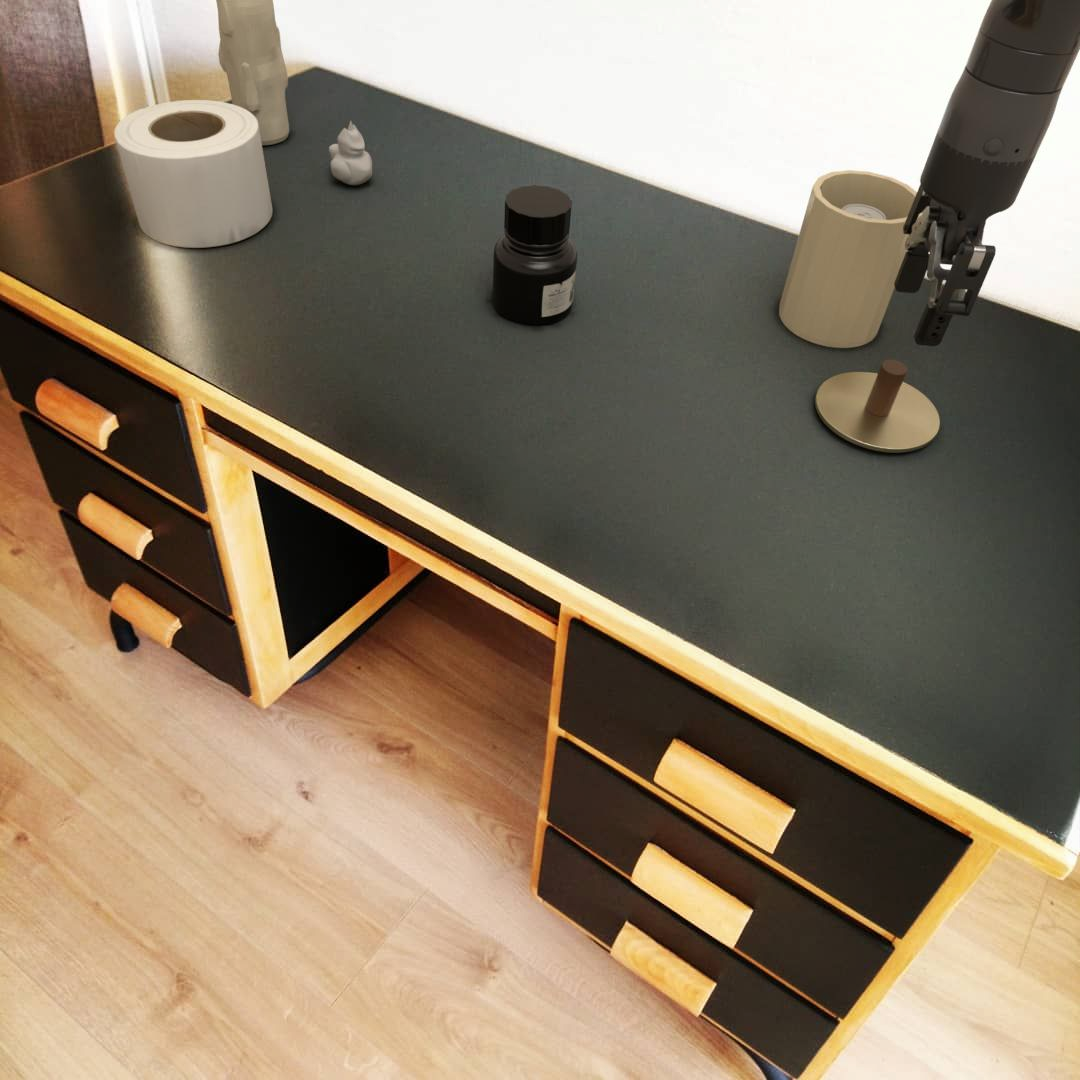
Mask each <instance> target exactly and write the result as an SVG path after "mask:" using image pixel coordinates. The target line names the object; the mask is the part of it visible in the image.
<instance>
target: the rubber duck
mask: <svg viewBox="0 0 1080 1080" xmlns="http://www.w3.org/2000/svg"><path fill="white" fill-rule="evenodd" d="M336 139H337V143H332V144H330V146H329V147H328V152H329V155H330V158H331V161H330V170H331V171H330V172H331V174H332V175H331V176H333V177H334V179H336V180H338V181H340V182H342V183H344V184H345V185H349V186H360V185H362V184H365V183H366V182H367V181H369V180H371V178H372V176H373V160H372V157H371V154H370V153H369V152H368V151H366V150H365V145H366V144H365V140H364V137H363V135H362V134H361V132H360V131H359V129H358V128H357V126H356V125H355V124H353V123H352V120H350V122H349V124H348V127H347V128H346V127H344V128H342V130H341V131H340V133H339V134H338V136H337V138H336Z"/></svg>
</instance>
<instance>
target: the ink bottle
mask: <svg viewBox="0 0 1080 1080" xmlns="http://www.w3.org/2000/svg"><path fill="white" fill-rule="evenodd" d="M572 207H573V200H572V199H571V198H570V196H569V194H568V193H565V192H564V191H562V190H561V189H558V188H555V187H551V186H548V185H538V184H533V185H532V184H531V185H522V186H520V187H516V188H513V189H511V191H509V192H508V193H507V194H506V195H505V199H504V216H503V217H504V218H503V222H504V223H503V229H504V234H503V235H502V236H500V237H499V239H498V241H497V242H496V243H495V245H494V248H493V256H492V257H493V260H492V261H493V262H492V303H493V306H494V308H495V310H496V311H497V312H498V313H499V314H500V315H501V316H503V317H505V318H507V319H509V320H512V321H515V322H518V323H524V324H532V325H545V324H550V323H554V322H558V321H560V320H561V319H563V318H565V317H566V316H567V315H568V314H569V313H570V311H571V309H572V307H573V304H574V296H575V286H576V274H577V265H578V264H577V262H578V251H577V248H576V247H575V244H574V243H573V241H571V239H570V238H569V236H570V231H571V230H570V228H571V217H572Z"/></svg>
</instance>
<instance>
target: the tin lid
mask: <svg viewBox="0 0 1080 1080" xmlns="http://www.w3.org/2000/svg"><path fill="white" fill-rule="evenodd" d="M907 373H908V367H907V366H906V364H905V363H903V362H901V361H900V360H897V359H886V360H883V361H882V363H881V364H880V367H879V370H878V372H868V371H849V372H843V373H838V374H836V375H833V376H832V377H829V378H828V379H826V380H825V381H823V382H822V383H821V384H820V386H819V387H818V389H817V391H816V394H815V400H814V404H815V409H816V412H817V414H818V417H819V418H820V419H821V421H822V422H823V423H824V425H825V426H826V427H827V428H828V429H830V430H831V431H832V432H833V433H835V434H836V435H837V436H839V437H841V438H842V439H843V440H846V441H848V442H849V443H852V444H854V445H856V446H859V447H862V448H864V449H868V450H872V451H876V452H882V453H893V454H894V453H895V454H896V453H897V454H898V453H899V454H900V453H908V452H914V451H917V450H920V449H923V448H925V447H926V446H928V445H929V444H931V443H932V442H933V441H934V439H935V438H936V436H937V435H938V432H939V430H940V426H941V419H940V415H939V412H938V410H937V408H936V407H935V405H934V404H933V402H932V401H931V400H930V399H929V398H928V397H927V396H926V395H925V394H924V393H922V392H921V391H920V390H919V389H917V388H915V387H914V386H912V385H910V383H909V384H908V383H907V382H904V380H905V377H906V376H907Z"/></svg>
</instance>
